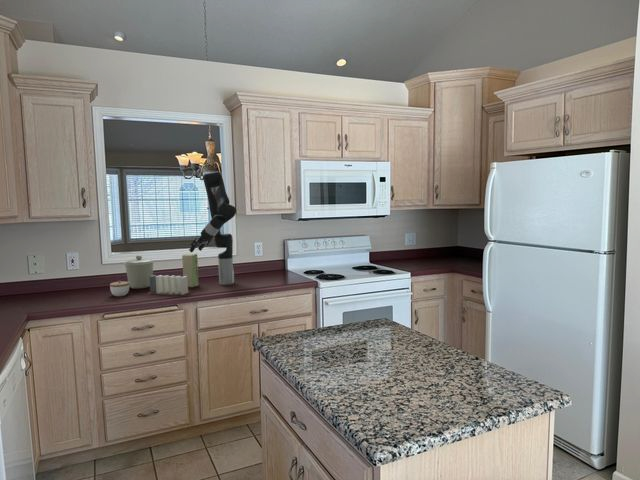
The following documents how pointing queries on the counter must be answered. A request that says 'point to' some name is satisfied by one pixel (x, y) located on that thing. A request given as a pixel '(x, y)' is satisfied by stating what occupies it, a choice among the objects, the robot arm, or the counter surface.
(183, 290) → the domino
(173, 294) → the runner
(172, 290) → the domino
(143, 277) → the canister
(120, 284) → the lidded jar
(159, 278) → the domino
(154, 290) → the domino
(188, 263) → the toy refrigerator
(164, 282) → the domino
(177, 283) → the domino
